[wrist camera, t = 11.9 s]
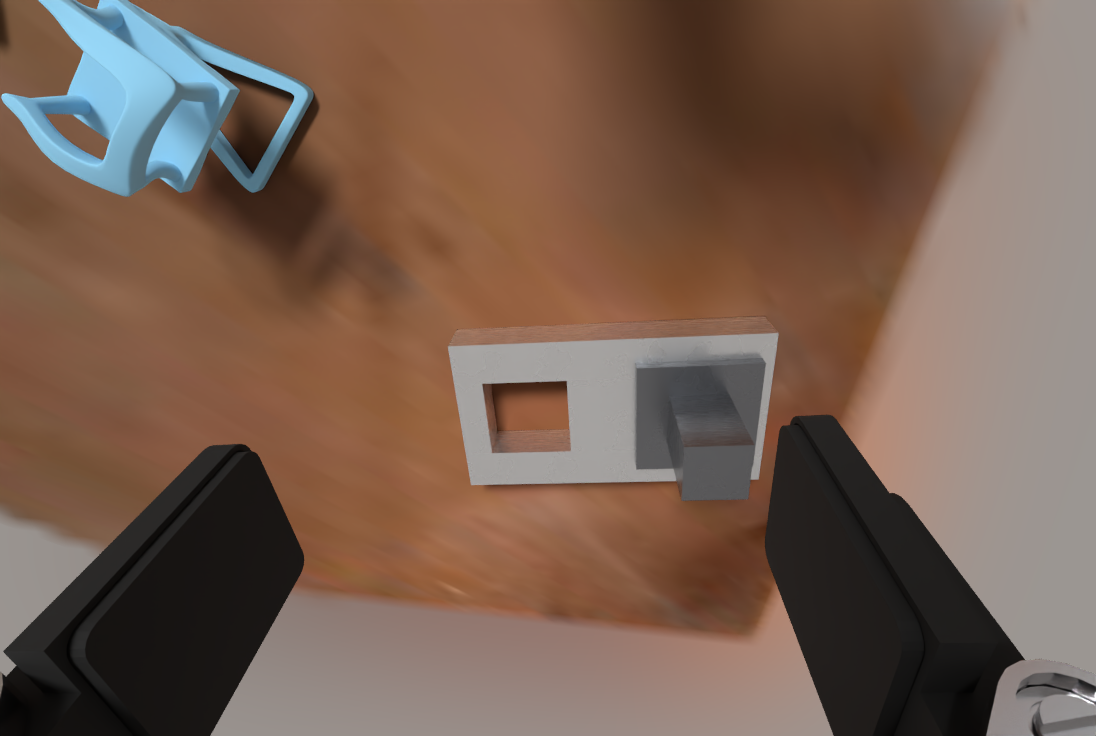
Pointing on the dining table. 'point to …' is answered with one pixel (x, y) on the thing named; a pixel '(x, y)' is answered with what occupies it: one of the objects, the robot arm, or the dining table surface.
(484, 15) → the dining table surface
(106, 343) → the dining table surface
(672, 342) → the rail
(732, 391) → the flanged block
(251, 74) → the chair
